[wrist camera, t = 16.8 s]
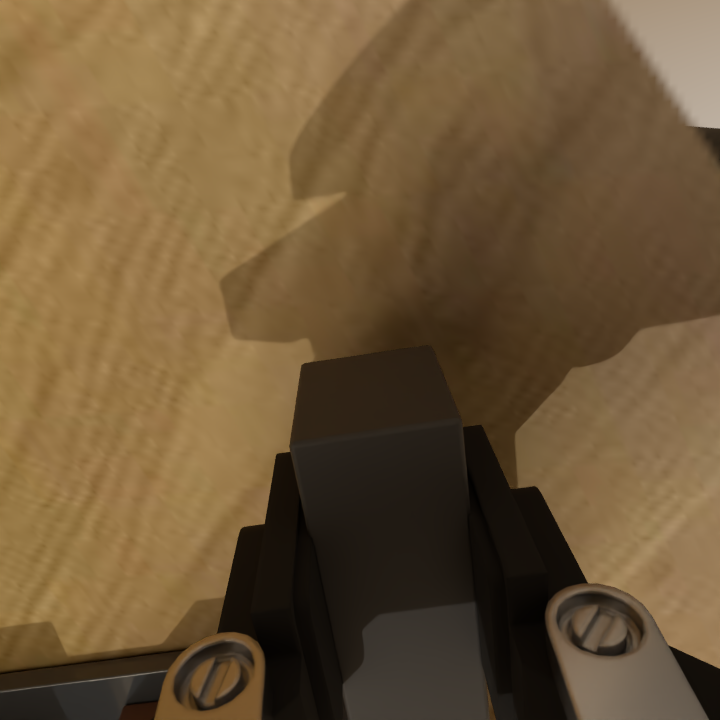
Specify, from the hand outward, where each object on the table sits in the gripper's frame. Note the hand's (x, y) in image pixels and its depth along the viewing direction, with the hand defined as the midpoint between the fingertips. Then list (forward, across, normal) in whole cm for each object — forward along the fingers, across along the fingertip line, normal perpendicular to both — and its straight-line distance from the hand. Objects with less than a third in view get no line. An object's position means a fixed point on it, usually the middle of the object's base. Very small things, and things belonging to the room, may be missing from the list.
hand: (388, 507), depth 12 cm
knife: (0, 0, +6) cm, 6 cm away
